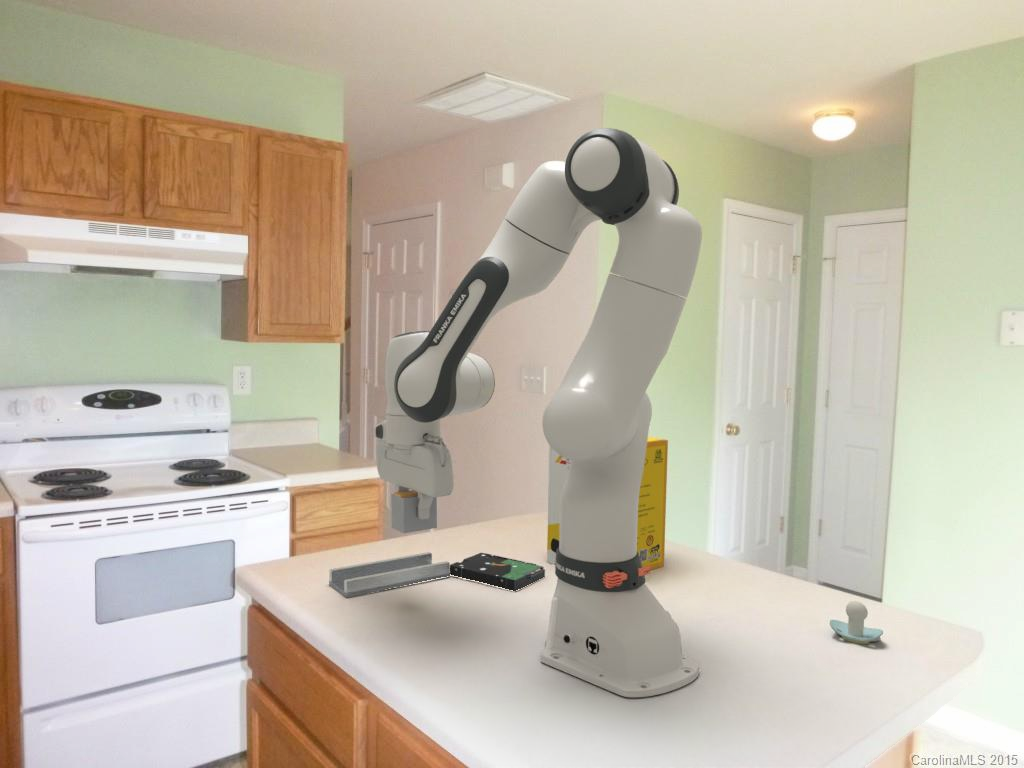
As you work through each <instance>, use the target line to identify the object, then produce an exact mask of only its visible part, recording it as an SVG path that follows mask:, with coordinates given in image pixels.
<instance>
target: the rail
mask: <svg viewBox="0 0 1024 768" xmlns="http://www.w3.org/2000/svg"><path fill="white" fill-rule="evenodd" d="M432 557H433V554H432V552H431V551H427V552H422V553H416V554H411V555H405V556H400V557H393V558H388V559H382V560H376V561H375V560H374V561H372V562H365V563H358V564H353V565H347V566H342V567H335V568H331V569H329V570H328V571H329V578H328V579H329V580H328V585H329V586H330V587H331V588H332V589H334V590H336V591H337V592H338V593H339V594H341V595H342V596H343V597H345V598H346V599H349V598H350V599H351V598H354V597H355V598H356V597H359V595H360V596H365V595H369V594H368V593H370V594H373V593H372V592H375V593H378V592H377V591H380V592H382V591H381V590H385V589H389V588H394V587H400V586H404V585H409V584H413V583H418V582H422V581H427V580H431V579H436V578H441V577H447V576H450V565H451V564H450V563H451V562H450V561H447V560H445V561H441V562H434V563H432V562H433V559H432ZM385 591H386V590H385ZM364 594H365V595H364Z"/></svg>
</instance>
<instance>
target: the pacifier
mask: <svg viewBox="0 0 1024 768" xmlns="http://www.w3.org/2000/svg"><path fill="white" fill-rule="evenodd" d="M845 613H846V616H847V618H848V620H847V621H848V622H845V621H841V620H838V619H830V620H829V626H830V628H831V629H832V630H833V632H835V633H836V634H837V635H839V636H841V637H842V639H844V640H845V641H847V642H850V643H854V644H861V645H863V644H864V645H865V644H869V643H870V642H871V643H872V642H873V643H874V642H879V641H880V640H881V636H882V635H883V633H884V631H883V629H881V628H875V627H874V628H872V627H866V626H865V620H866V619H867V617H868V613H869V612H868V608H867V607H866V605H865V604H863V603H862V602H861V601H857V600H852V601H849V602H848V603H847V605H846V607H845Z"/></svg>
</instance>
